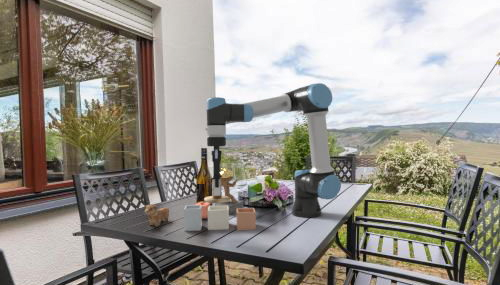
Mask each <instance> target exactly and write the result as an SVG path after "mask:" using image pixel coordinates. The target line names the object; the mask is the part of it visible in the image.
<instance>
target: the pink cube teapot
mask: <svg viewBox="0 0 500 285" xmlns="http://www.w3.org/2000/svg"><path fill="white" fill-rule="evenodd" d="M194 205H202V219H208V207H209V206H212V205H211V203H206V202H204V201H200V202H197V203H195V204H194Z"/></svg>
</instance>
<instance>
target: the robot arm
mask: <svg viewBox="0 0 500 285" xmlns="http://www.w3.org/2000/svg"><path fill="white" fill-rule="evenodd" d="M332 102H333V94H332V91H331V88H330V87H328V86H327V85H326V84H324V83H320V82H318V83H312V84H309V85H306V86H305V85H304V86H301V87H298V88H297V89H294V90H290V91H289V92H284V93H283V92H282V94H281V95H280V96H276V97H269V98H265V99H260V100H256V101H251V102H245V103H227V101H226V98H224V97H219V96H217V97H216V96H214V97H209V98H208V99H207V100H206V110H205V111H206V128H205V131H206V134H207V136H208V137H207V138H206V143H207V144H206V145H207V147H213V150H211V159H212V162H213V164H212V165H213V167H212V168H213V176H212V177H211V180H212V185H213V184H214V196H222V191H221V192H220V177H222V175H220V172H221V162H222V153H223V152H222V150H221V149H220V147H225V146H226V145H227V138H226V137H225V136H227V125H228V124H235V123H250V122H252V121H253V119H254V118H255V119H256V118H260V117H264V116H268V115H273V114H277V113H281V112H284V113H290V112H303V116H305V117H306V119H307V130H308V138H309V149H310V150H309V151H310V159H311V168H310V169H299V170H295V171H294V178H293V179H294V201H293V204H292V207H291V214H292V215H293V216H295V217H300V218H317V217H319V216H322V208H321V205H320V202H319V199H322V200H332V199H335V198H336V197H337V196H338V194H339V193H340V191H341V188H342V183H341V179H340V178H339V177H338V176H337V175H336V172H335V169H334V167H332V165H331V158H330V157H331V156H330V146H329V136H328V128H327V118H326V117H327V114H328V113H329V107H330V106H331V103H332Z"/></svg>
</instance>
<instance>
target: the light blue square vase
mask: <svg viewBox="0 0 500 285" xmlns="http://www.w3.org/2000/svg"><path fill="white" fill-rule="evenodd" d="M183 227H184V228H183V230H184V231H183V232H191V231H198V232H199V231H201V230H202V227H203V218H202V205H195V204H191V205H190V204H189V205H185V206H184V208H183Z"/></svg>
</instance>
